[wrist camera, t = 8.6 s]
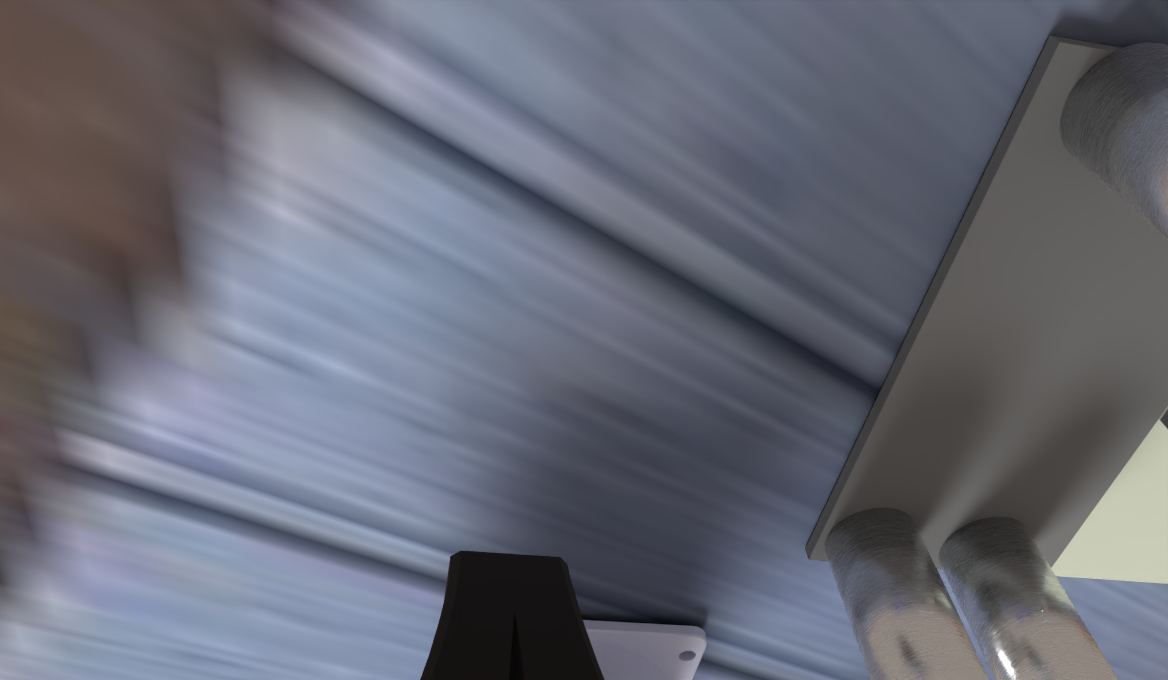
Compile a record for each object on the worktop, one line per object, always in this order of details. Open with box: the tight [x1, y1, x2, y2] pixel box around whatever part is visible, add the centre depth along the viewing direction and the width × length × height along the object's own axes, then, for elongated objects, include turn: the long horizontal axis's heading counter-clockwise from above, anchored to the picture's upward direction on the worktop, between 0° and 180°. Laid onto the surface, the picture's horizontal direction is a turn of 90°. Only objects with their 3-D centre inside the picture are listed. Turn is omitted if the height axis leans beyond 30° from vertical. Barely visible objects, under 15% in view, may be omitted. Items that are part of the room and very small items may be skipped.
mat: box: [805, 35, 1168, 584], centre depth 23 cm, size 15×12×1 cm
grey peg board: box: [825, 42, 1168, 680], centre depth 20 cm, size 16×7×5 cm, turn 170°
